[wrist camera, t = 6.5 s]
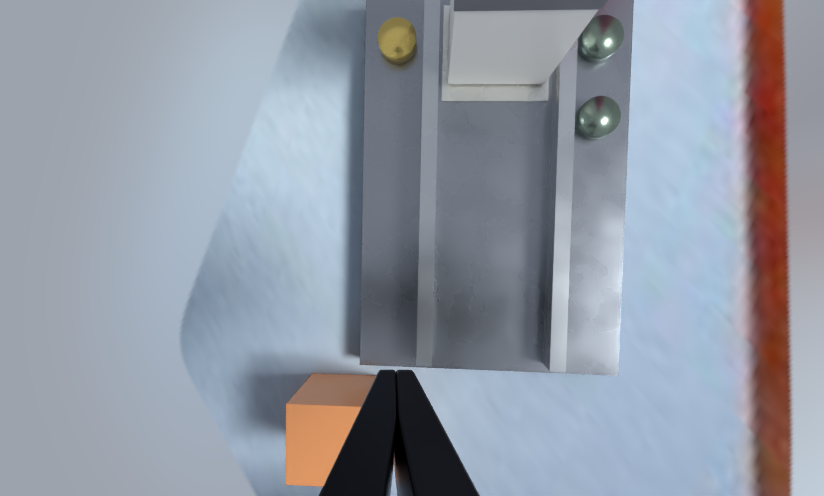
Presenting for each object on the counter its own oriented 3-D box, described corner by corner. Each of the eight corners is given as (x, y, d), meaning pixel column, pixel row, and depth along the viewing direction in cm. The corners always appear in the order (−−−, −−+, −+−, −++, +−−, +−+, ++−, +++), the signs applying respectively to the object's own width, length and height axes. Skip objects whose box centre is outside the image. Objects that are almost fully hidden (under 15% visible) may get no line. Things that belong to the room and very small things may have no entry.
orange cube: (379, 441, 21) (367, 488, 17) (312, 438, 22) (285, 484, 18) (379, 374, 21) (367, 407, 17) (312, 372, 22) (286, 404, 18)
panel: (609, 368, 20) (630, 384, 18) (363, 358, 21) (355, 372, 19) (623, 6, 20) (647, -23, 18) (369, 9, 21) (361, -18, 18)
